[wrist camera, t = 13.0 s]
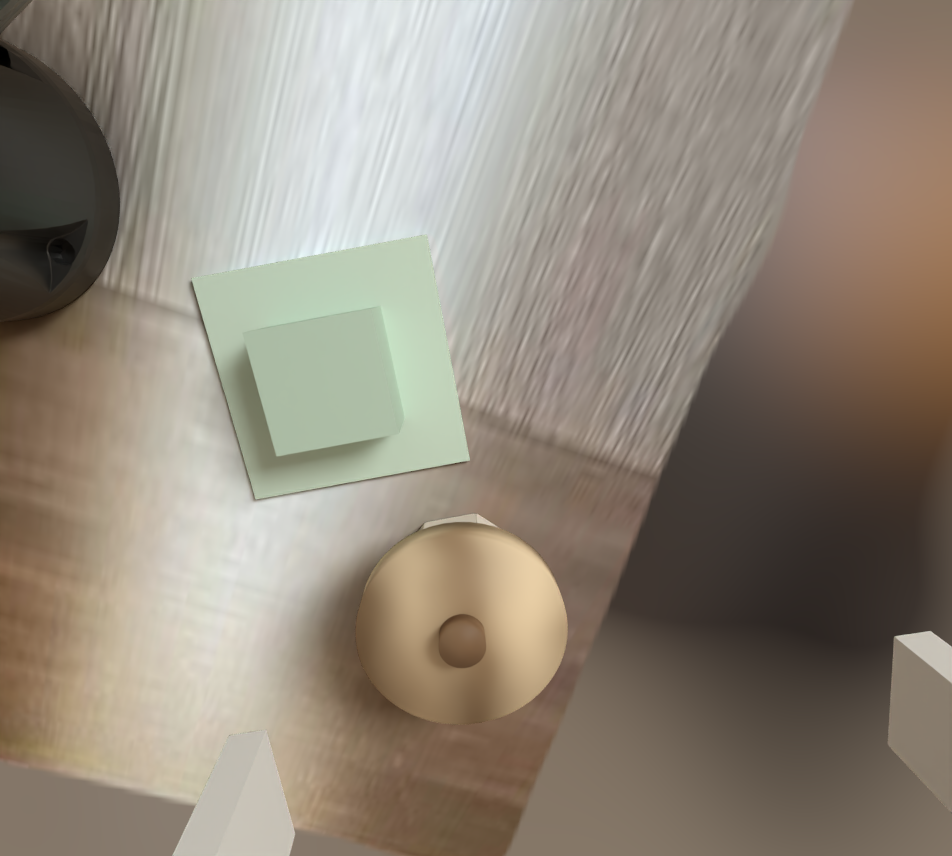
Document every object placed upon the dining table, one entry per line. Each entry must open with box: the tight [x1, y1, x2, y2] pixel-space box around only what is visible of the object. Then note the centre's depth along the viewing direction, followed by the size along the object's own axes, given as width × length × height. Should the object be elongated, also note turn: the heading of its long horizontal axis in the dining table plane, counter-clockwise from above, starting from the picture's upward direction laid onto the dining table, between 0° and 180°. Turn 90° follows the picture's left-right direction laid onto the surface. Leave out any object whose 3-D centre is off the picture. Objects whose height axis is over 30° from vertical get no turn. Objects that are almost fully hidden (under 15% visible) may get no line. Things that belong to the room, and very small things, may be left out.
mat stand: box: [191, 235, 470, 499], centre depth 34 cm, size 14×14×4 cm
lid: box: [355, 522, 568, 725], centre depth 33 cm, size 12×12×3 cm
